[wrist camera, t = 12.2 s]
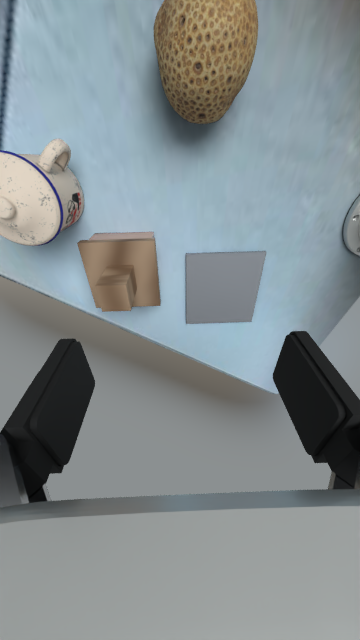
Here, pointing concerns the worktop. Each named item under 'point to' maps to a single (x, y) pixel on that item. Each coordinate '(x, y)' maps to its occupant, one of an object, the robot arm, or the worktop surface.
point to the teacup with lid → (38, 195)
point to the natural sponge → (205, 54)
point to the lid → (121, 272)
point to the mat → (222, 286)
